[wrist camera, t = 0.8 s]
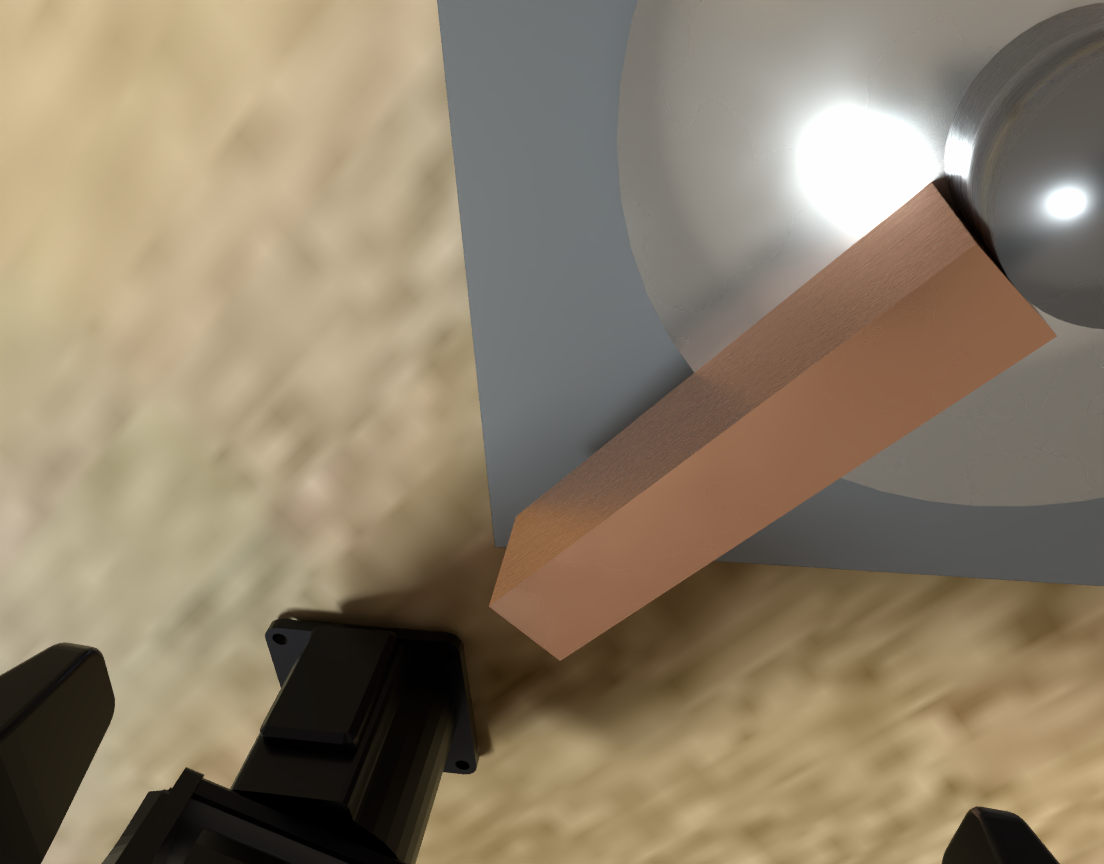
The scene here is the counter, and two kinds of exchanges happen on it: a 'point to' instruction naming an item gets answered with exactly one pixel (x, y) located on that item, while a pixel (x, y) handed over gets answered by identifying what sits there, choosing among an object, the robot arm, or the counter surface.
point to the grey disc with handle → (839, 282)
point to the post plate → (640, 310)
